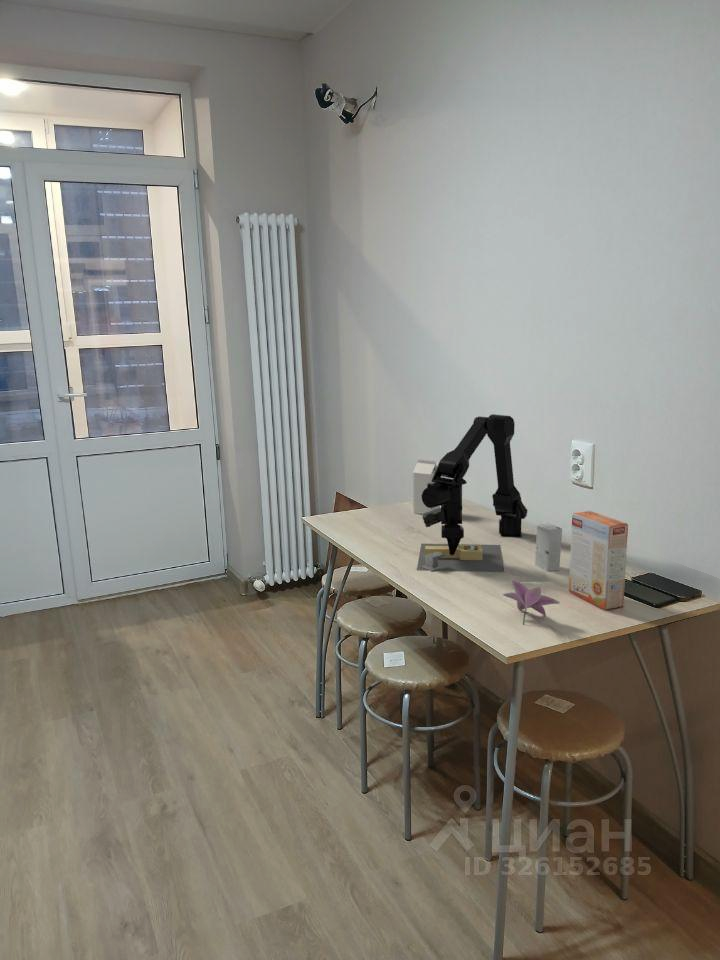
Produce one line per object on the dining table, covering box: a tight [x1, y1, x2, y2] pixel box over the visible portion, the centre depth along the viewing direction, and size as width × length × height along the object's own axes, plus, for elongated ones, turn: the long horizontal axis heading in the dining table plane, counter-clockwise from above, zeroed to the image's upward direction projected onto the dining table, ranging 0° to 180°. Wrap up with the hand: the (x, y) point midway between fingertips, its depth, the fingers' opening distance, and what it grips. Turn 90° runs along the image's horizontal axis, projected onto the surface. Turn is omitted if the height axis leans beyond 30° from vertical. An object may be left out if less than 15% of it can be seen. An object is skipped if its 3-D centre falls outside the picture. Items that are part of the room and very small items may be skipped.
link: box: [425, 544, 483, 560], centre depth 219 cm, size 16×6×3 cm, turn 84°
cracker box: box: [568, 510, 629, 611], centre depth 183 cm, size 14×6×21 cm, turn 21°
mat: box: [416, 543, 505, 573], centre depth 219 cm, size 24×25×1 cm
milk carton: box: [412, 459, 441, 515], centre depth 268 cm, size 7×7×19 cm
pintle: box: [467, 543, 474, 550], centre depth 218 cm, size 2×2×3 cm
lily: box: [502, 578, 561, 625], centre depth 173 cm, size 12×12×10 cm
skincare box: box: [534, 522, 563, 572], centre depth 207 cm, size 6×4×12 cm
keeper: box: [421, 552, 445, 572], centre depth 210 cm, size 6×4×4 cm
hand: (451, 553), depth 219 cm, fingers closed on link, 3 cm apart
